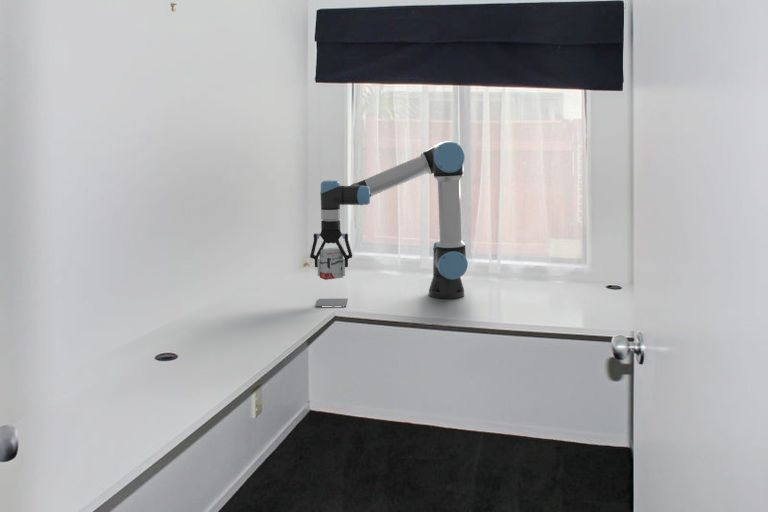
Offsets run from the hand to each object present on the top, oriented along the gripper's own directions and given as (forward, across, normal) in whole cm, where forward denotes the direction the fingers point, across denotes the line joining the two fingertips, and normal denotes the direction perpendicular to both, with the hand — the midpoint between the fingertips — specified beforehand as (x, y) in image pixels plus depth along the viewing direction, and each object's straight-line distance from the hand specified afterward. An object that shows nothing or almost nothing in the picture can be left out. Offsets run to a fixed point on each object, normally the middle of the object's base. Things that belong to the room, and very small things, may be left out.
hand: (331, 275), depth 247 cm
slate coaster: (+12, 0, 0) cm, 12 cm away
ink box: (+1, 0, 0) cm, 1 cm away
